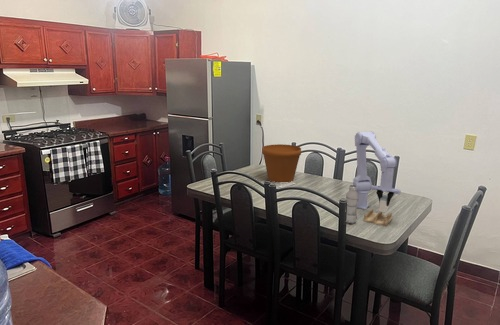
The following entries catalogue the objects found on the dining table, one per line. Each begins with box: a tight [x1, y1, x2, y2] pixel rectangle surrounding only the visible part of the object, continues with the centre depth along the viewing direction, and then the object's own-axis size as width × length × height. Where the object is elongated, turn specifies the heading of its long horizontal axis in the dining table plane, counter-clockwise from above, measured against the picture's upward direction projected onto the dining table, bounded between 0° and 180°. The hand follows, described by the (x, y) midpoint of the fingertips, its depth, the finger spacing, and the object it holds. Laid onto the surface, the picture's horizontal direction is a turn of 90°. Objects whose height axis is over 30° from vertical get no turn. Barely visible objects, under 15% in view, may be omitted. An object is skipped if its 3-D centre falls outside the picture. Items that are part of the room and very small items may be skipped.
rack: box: [362, 208, 393, 227], centre depth 193 cm, size 12×13×3 cm
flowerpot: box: [261, 143, 302, 183], centre depth 264 cm, size 28×28×24 cm
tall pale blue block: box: [378, 194, 390, 213], centre depth 190 cm, size 3×7×7 cm, turn 146°
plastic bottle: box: [345, 184, 359, 224], centre depth 187 cm, size 6×7×20 cm
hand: (384, 204), depth 190 cm, fingers closed on tall pale blue block, 3 cm apart
